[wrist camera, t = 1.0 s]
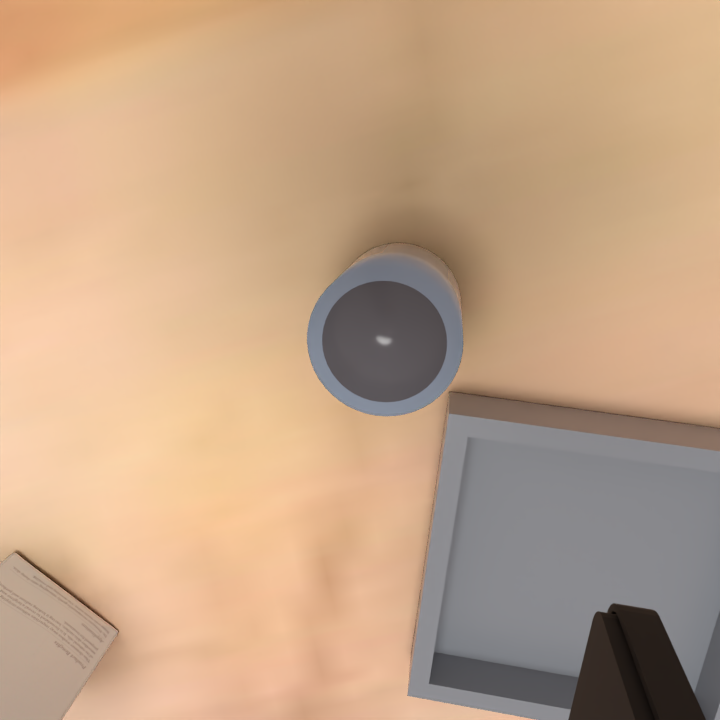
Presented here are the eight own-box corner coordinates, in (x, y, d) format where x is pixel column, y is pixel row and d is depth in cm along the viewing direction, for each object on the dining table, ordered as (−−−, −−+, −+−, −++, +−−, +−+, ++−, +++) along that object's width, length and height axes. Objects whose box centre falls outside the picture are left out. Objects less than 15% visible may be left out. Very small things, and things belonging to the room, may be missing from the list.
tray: (449, 391, 33) (448, 413, 30) (788, 438, 31) (822, 465, 28) (411, 655, 38) (407, 695, 35) (703, 707, 36) (725, 754, 33)
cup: (342, 236, 31) (312, 256, 25) (469, 250, 31) (474, 274, 24) (332, 356, 33) (301, 405, 26) (451, 372, 33) (451, 426, 26)
